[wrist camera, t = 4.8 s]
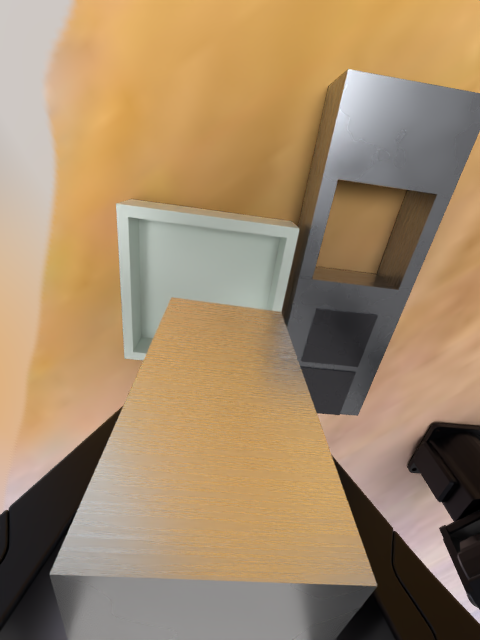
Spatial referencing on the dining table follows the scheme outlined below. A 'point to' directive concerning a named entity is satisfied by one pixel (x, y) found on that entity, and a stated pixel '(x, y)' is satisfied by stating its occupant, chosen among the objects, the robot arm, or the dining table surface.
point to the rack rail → (406, 238)
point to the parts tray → (196, 263)
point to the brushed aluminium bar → (214, 497)
